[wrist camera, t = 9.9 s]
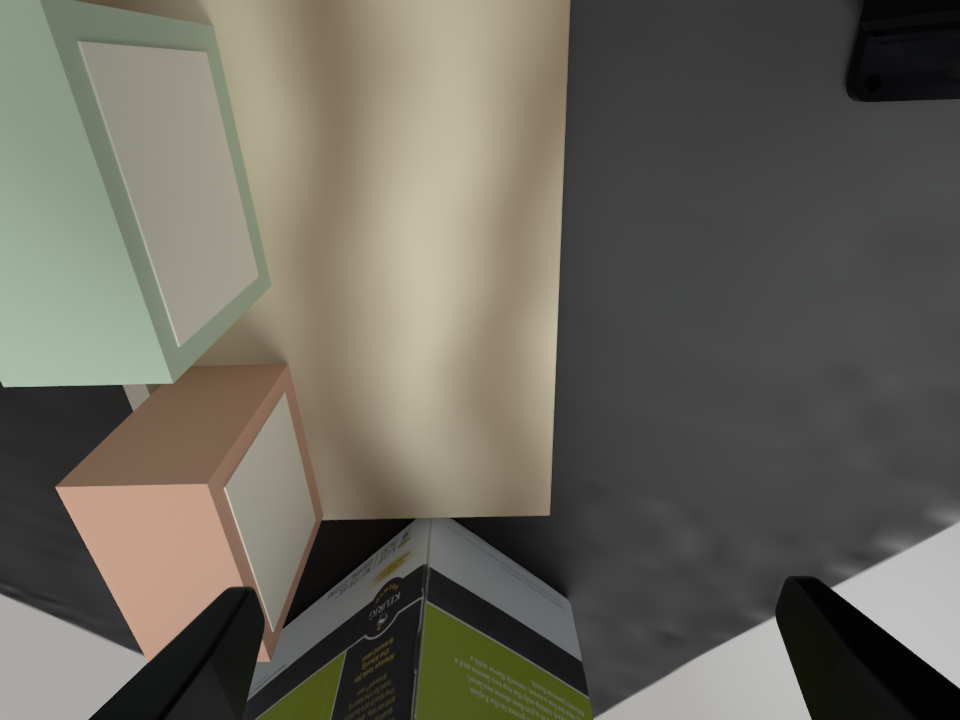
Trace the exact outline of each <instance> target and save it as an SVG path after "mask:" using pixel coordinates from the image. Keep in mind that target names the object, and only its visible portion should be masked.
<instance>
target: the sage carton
mask: <svg viewBox="0 0 960 720" xmlns="http://www.w3.org/2000/svg"><path fill="white" fill-rule="evenodd" d="M270 287H271V281H270V277H269V272H268V268H267V263H266V259H265V254H264V250H263V245H262V241H261V236H260V232H259V228H258V223H257V219H256V214H255V210H254V205H253V201H252V196H251V192H250V187H249V183H248V178H247V174H246V169H245V165H244V161H243V156H242V152H241V147H240V143H239V138H238V134H237V129H236V125H235V120H234V116H233V111H232V107H231V102H230V98H229V94H228V89H227V85H226V80H225V76H224V71H223V67H222V62H221V58H220V53H219V49H218V44H217V40H216V35H215V31H214V27H213V26H211V25H205V24H200V23H194V22H189V21H184V20H178V19H173V18H167V17H162V16H156V15H151V14H145V13H140V12H135V11H129V10H124V9H118V8H113V7H107V6H102V5H96V4H91V3H86V2H80V1H75V0H0V381H1V383H2V385H3V387H31V386H79V385H127V384H173V383H174V382H175V381H176V380H177V379H178V378H179V377H180V376H181V375H182V374H183V373H184V372H185V371H186V370H187V369H188V368H189V367H190V366H191V365H192V364H193V363H194V362H195V361H196V360H197V359H198V358H199V357H200V356H201V355H202V354H203V353H204V352H205V351H206V350H207V349H208V348H209V347H211V346H212V345H213V344H214V343H215V342H216V341H217V340H218V339H219V338H220V337H221V336H222V335H223V334H224V333H225V332H226V331H227V330H228V329H229V328H230V327H231V326H232V325H233V324H234V323H235V322H236V321H237V320H238V319H239V318H240V317H241V316H242V315H243V314H244V313H245V312H246V311H247V310H248V309H249V308H250V307H251V306H252V305H253V304H254V303H255V302H256V301H257V300H258V299H259V298H260V297H261V296H262V295H263V294H264V293H265V292H266V291H267V290H268V289H269V288H270Z"/></svg>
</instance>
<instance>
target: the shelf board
mask: <svg viewBox="0 0 960 720" xmlns="http://www.w3.org/2000/svg"><path fill="white" fill-rule="evenodd" d="M75 1H80V2H86V3H91V4H96V5H102V6H107V7H113V8H118V9H124V10H129V11H135V12H140V13H145V14H151V15H156V16H162V17H167V18H173V19H178V20H184V21H189V22H194V23H200V24H205V25H211V26H213V27H214V31H215V35H216V40H217V44H218V49H219V53H220V58H221V62H222V67H223V71H224V76H225V80H226V85H227V89H228V94H229V98H230V102H231V107H232V111H233V116H234V120H235V125H236V129H237V134H238V138H239V143H240V147H241V152H242V156H243V161H244V165H245V169H246V174H247V178H248V183H249V187H250V192H251V196H252V201H253V205H254V210H255V214H256V219H257V223H258V228H259V232H260V236H261V241H262V245H263V250H264V254H265V259H266V263H267V268H268V272H269V277H270V281H271V287H270V288H269V289H268V290H267V291H266V292H265V293H264V294H263V295H262V296H261V297H260V298H259V299H258V300H257V301H256V302H255V303H254V304H253V305H252V306H251V307H250V308H249V309H248V310H247V311H246V312H245V313H244V314H243V315H242V316H241V317H240V318H239V319H238V320H237V321H236V322H235V323H234V324H233V325H232V326H231V327H230V328H229V329H228V330H227V331H226V332H225V333H224V334H223V335H222V336H221V337H220V338H219V339H218V340H217V341H216V342H215V343H214V344H213V345H212V346H211V347H209V348H208V349H207V350H206V351H205V352H204V353H203V354H202V355H201V356H200V357H199V358H198V359H197V360H196V361H195V362H194V363H193V364H192V365H191V366H223V365H262V364H288V365H289V369H290V374H291V378H292V382H293V387H294V391H295V395H296V400H297V404H298V408H299V413H300V417H301V421H302V426H303V430H304V434H305V439H306V443H307V447H308V452H309V456H310V460H311V465H312V469H313V473H314V478H315V482H316V486H317V491H318V495H319V499H320V504H321V508H322V512H323V518H322V520H351V519H400V518H450V517H500V516H549V515H550V498H551V472H552V447H553V422H554V397H555V372H556V347H557V322H558V296H559V271H560V246H561V221H562V196H563V171H564V146H565V120H566V95H567V70H568V45H569V20H570V0H75ZM161 385H162V384H127V385H123V387H124V390H125V392H126V395H127V397H128V400H129V402H130V404H131V407H132V409H133V412H134V411H135V410H136V409H137V408H138V407H139V406H140V405H141V404H142V403H143V402H144V401H145V400H146V399H147V398H148V397H149V396H150V395H151V394H152V393H154V392H155V391H156V390H157V389H158V388H159V387H160V386H161Z"/></svg>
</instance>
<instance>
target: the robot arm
mask: <svg viewBox="0 0 960 720" xmlns="http://www.w3.org/2000/svg"><path fill="white" fill-rule="evenodd" d="M860 22H861V24H862V30H861V34H860V38H859V41H858V45H857V49H856V53H855V57H854V61H853V64H852V68H851V72H850V76H849V80H848V84H847V93H848V96H849V97H850V98H851V99H852V100H854V101H860V102H881V101H910V100H938V99H960V0H865V3H864V7H863V11H862V15H861V19H860ZM870 75H871V76H872V78H873V83H872V85H871V87H870V88H869V89H868V90H867V91H866V92H865V90H864V89H863V88H864V82H865V80H866V79H867V78H868V77H869V76H870ZM775 614H776V621H777V624H778V627H779V629H780V632H781V635H782V638H783V641H784V644H785V646H786V649H787V652H788V655H789V658H790V661H791V664H792V666H793V669H794V672H795V675H796V678H797V680H798V683H799V686H800V689H801V692H802V695H803V698H804V700H805V703H806V706H807V708H808V711H809V713H810V716H811V719H812V720H960V688H958V687H957V686H956V685H954V684H953V683H952V682H951V681H949V680H948V679H947V678H945V677H944V676H943V675H942V674H940V673H939V672H938V671H936V670H935V669H934V668H932V667H931V666H930V665H929V664H927V663H926V662H925V661H923V660H922V659H921V658H920V657H918V656H917V655H916V654H914V653H913V652H912V651H911V650H909V649H908V648H907V647H905V646H904V645H903V644H902V643H900V642H899V641H898V640H896V639H895V638H894V637H893V636H891V635H890V634H889V633H887V632H886V631H885V630H883V629H882V628H881V627H880V626H878V625H877V624H876V623H874V622H873V621H872V620H871V619H869V618H868V617H867V616H865V615H864V614H862V613H861V612H860V611H859V610H857V609H856V608H855V607H854V606H852V605H851V604H850V603H849V602H847V601H846V600H845V599H843V598H842V597H841V596H839V595H838V594H837V593H836V592H834V591H833V590H832V589H831V588H829V587H828V586H827V585H825V584H824V583H823V582H822V581H820V580H819V579H817V578H815V577H813V576H790V577H788V578H787V579H786V580H785V582H784V585H783V588H782V590H781V593H780V596H779V599H778V602H777V605H776V610H775ZM264 629H265V617H264V614H263V611H262V608H261V605H260V602H259V599H258V596H257V593H256V591H255V589H254V588H253V587H251V586H233V587H229V588H227V589H226V590H224V591H223V592H222V593H221V594H220V595H219V596H218V597H217V598H216V599H215V600H214V601H213V602H211V603H210V604H209V605H208V606H207V607H206V608H205V609H204V610H203V611H202V612H201V613H200V614H199V615H198V616H197V617H196V618H195V619H194V620H193V621H192V622H190V623H189V624H188V625H187V626H186V627H185V628H184V629H183V630H182V631H181V632H180V633H179V634H178V635H177V636H176V637H175V638H174V639H173V640H172V641H171V642H169V643H168V644H167V645H166V646H165V647H164V648H163V649H162V650H161V651H160V652H159V653H158V654H157V655H156V656H155V657H154V658H153V659H152V660H151V661H150V662H148V663H147V665H145V666H144V667H143V668H142V669H141V670H140V671H139V672H138V673H137V674H136V675H135V676H134V677H133V678H132V679H131V680H130V681H129V682H127V683H126V684H125V685H124V686H123V687H122V688H121V689H120V690H119V691H118V692H117V693H116V694H115V695H114V696H113V697H112V698H111V699H110V700H109V701H108V702H107V703H105V704H104V705H103V706H102V707H101V708H100V709H99V710H98V711H97V712H96V713H95V714H94V715H93V716H92V717H91V718H90V719H89V720H242V719H243V715H244V712H245V707H246V703H247V699H248V695H249V691H250V687H251V683H252V679H253V675H254V671H255V667H256V662H257V658H258V654H259V650H260V646H261V642H262V638H263V634H264Z"/></svg>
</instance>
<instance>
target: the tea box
mask: <svg viewBox="0 0 960 720" xmlns="http://www.w3.org/2000/svg"><path fill="white" fill-rule="evenodd" d="M242 720H593V717H592V711H591V706H590V701H589V696H588V688H587V683H586V677H585V673H584V669H583V664H582V659H581V654H580V648H579V643H578V639H577V634H576V630H575V625H574V620H573V615H572V610H571V605H570V602H569V601H568V600H567V599H566V598H565V597H564V596H562V595H561V594H560V593H558V592H557V591H555V590H554V589H553V588H551V587H550V586H548V585H547V584H546V583H544V582H543V581H541V580H540V579H539V578H537V577H536V576H534V575H533V574H531V573H530V572H529V571H527V570H526V569H524V568H523V567H521V566H520V565H519V564H517V563H516V562H514V561H513V560H511V559H510V558H508V557H507V556H506V555H504V554H503V553H501V552H500V551H498V550H497V549H495V548H494V547H493V546H491V545H490V544H488V543H487V542H485V541H484V540H482V539H481V538H480V537H478V536H477V535H475V534H474V533H472V532H471V531H469V530H468V529H467V528H465V527H464V526H462V525H461V524H459V523H458V522H456V521H454V520H453V519H451V518H417V519H415V520H414V521H413V522H412V523H411V524H409V525H408V526H407V527H406V528H405V529H404V530H402V531H401V532H400V533H399V534H398V535H396V536H395V537H394V538H393V539H391V540H390V541H389V542H388V543H387V544H385V545H384V546H383V547H382V548H381V549H379V550H378V551H377V552H376V553H375V554H373V555H372V556H371V557H370V558H368V559H367V560H366V561H365V562H364V563H362V564H361V565H360V566H359V567H358V568H356V569H355V570H354V571H353V572H352V573H350V574H349V575H348V576H347V577H345V578H344V579H343V580H342V581H341V582H339V583H338V584H337V585H336V586H334V587H333V588H332V589H331V590H330V591H328V592H327V593H326V594H325V595H323V596H322V597H321V598H320V599H319V600H317V601H316V602H315V603H314V604H313V605H311V606H310V607H309V608H308V609H307V610H305V611H304V612H303V613H302V614H300V615H299V616H298V617H297V618H296V619H294V620H293V621H292V622H291V623H290V624H288V625H287V626H286V627H285V628H284V629H282V631H281V634H280V636H279V639H278V642H277V645H276V647H275V650H274V653H273V656H272V658H271V661H270V662H256V667H255V671H254V675H253V679H252V683H251V687H250V691H249V695H248V699H247V703H246V707H245V712H244V715H243V719H242Z"/></svg>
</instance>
